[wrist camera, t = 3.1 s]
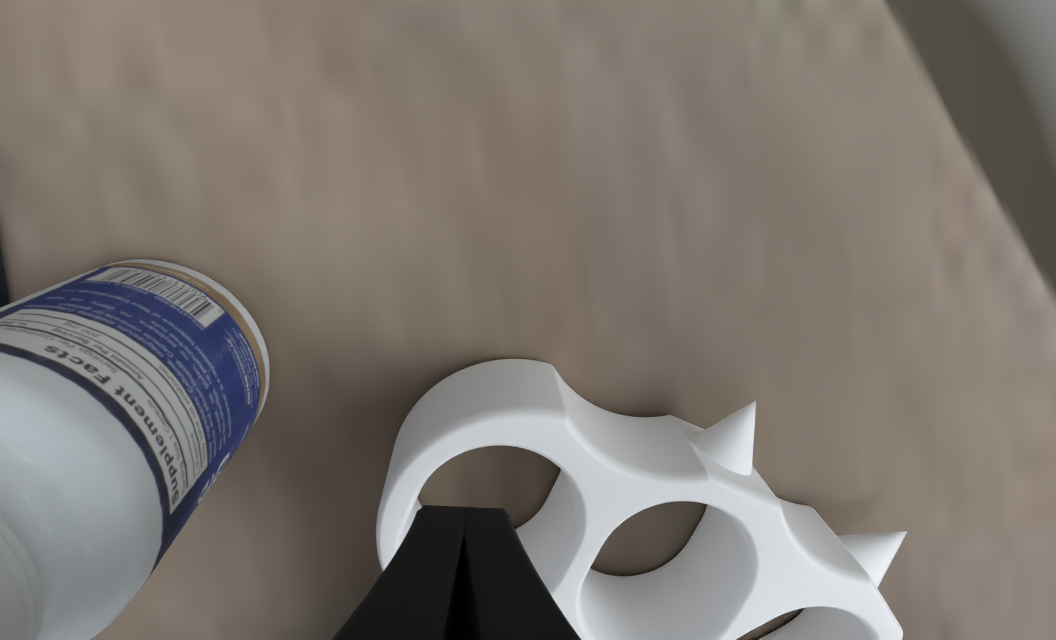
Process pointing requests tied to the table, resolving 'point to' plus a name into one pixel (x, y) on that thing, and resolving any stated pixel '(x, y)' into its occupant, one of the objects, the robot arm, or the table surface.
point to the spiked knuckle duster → (631, 486)
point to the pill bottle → (113, 434)
